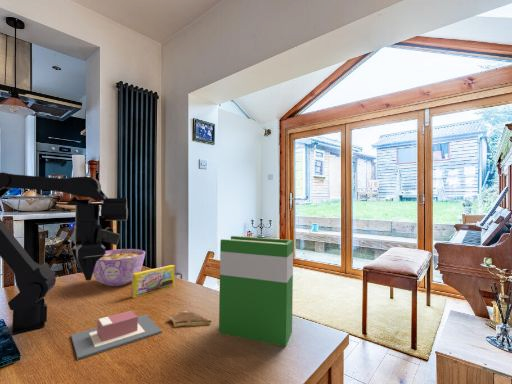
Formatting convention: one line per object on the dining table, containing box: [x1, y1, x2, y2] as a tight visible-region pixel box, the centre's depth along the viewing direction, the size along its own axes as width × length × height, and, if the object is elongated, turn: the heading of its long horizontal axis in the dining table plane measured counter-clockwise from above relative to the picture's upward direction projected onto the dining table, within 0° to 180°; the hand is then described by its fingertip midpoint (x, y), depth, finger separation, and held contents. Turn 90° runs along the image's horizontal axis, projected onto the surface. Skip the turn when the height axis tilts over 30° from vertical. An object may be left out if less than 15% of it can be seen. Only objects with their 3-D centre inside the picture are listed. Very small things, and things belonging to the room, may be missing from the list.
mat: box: [70, 314, 162, 361], centre depth 66 cm, size 18×12×1 cm, turn 131°
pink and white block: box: [96, 310, 138, 342], centre depth 66 cm, size 5×8×4 cm, turn 133°
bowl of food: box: [93, 248, 146, 287], centre depth 106 cm, size 20×20×12 cm
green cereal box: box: [218, 235, 294, 348], centre depth 69 cm, size 18×7×24 cm, turn 71°
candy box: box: [130, 264, 176, 299], centre depth 97 cm, size 16×2×8 cm, turn 143°
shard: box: [168, 310, 212, 328], centre depth 73 cm, size 11×8×2 cm
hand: (85, 276), depth 75 cm, fingers open, 9 cm apart
